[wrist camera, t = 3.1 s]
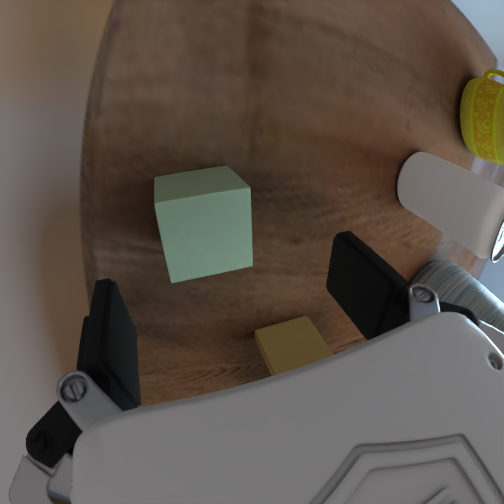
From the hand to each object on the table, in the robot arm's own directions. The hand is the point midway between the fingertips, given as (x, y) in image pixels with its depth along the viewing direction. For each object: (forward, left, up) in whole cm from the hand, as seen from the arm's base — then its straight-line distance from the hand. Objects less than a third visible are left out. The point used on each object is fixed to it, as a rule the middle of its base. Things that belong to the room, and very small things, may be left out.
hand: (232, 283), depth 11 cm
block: (0, 0, -10) cm, 10 cm away
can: (+22, 0, -10) cm, 24 cm away
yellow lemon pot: (+34, +10, -10) cm, 36 cm away
